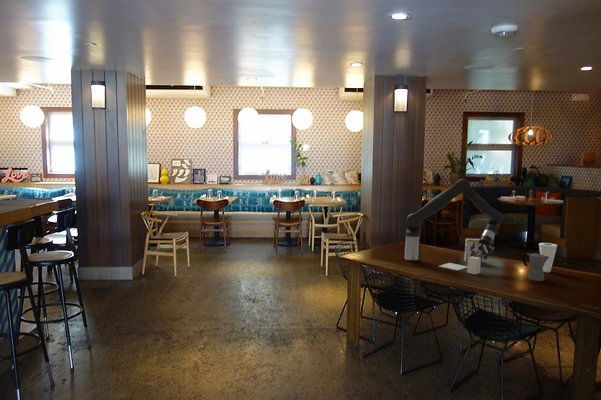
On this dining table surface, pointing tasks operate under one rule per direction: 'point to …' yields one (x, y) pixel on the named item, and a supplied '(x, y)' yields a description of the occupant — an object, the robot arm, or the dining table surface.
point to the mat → (453, 266)
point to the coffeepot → (535, 265)
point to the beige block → (473, 265)
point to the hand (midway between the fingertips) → (478, 257)
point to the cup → (548, 254)
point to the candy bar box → (468, 252)
